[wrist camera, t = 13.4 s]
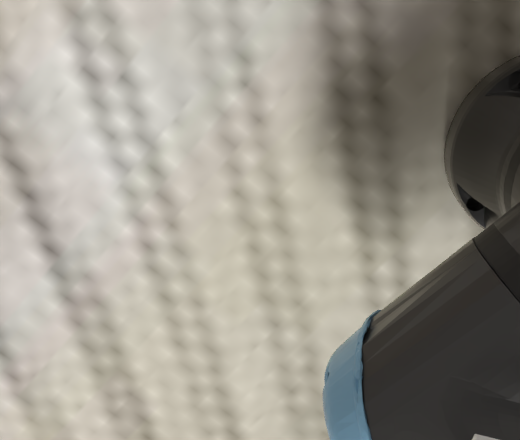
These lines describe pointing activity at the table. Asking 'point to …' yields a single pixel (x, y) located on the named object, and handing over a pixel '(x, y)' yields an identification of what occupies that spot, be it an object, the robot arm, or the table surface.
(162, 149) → the table surface
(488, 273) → the robot arm
